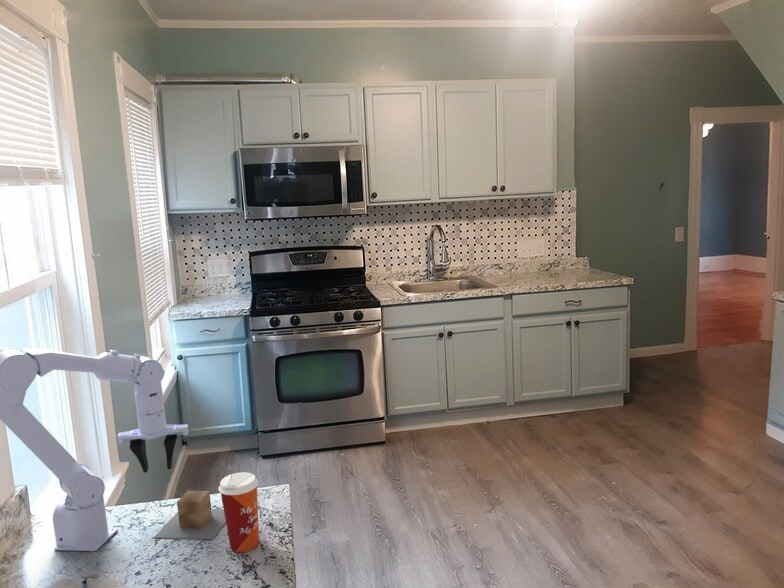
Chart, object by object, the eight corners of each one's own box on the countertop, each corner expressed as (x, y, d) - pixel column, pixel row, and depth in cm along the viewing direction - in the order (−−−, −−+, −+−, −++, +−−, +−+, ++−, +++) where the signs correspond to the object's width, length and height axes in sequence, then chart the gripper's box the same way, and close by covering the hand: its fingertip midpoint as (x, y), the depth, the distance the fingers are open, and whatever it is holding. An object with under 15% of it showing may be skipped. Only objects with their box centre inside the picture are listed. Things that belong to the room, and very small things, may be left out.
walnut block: (179, 528, 131) (176, 502, 130) (190, 516, 136) (187, 490, 135) (201, 528, 130) (198, 502, 129) (212, 516, 135) (209, 491, 134)
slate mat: (153, 538, 128) (153, 537, 128) (183, 506, 141) (183, 506, 141) (212, 539, 126) (212, 538, 126) (237, 507, 139) (237, 506, 139)
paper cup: (254, 556, 119) (247, 489, 117) (218, 554, 121) (210, 487, 118) (270, 535, 127) (264, 471, 124) (235, 533, 128) (229, 469, 126)
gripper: (111, 421, 130) (119, 481, 132) (182, 412, 133) (189, 471, 135) (118, 410, 137) (126, 468, 139) (186, 402, 139) (193, 458, 142)
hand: (158, 469), depth 137 cm, fingers open, 4 cm apart
